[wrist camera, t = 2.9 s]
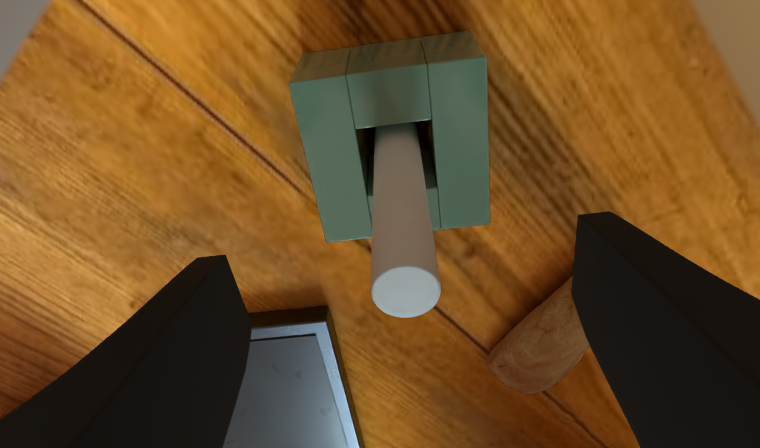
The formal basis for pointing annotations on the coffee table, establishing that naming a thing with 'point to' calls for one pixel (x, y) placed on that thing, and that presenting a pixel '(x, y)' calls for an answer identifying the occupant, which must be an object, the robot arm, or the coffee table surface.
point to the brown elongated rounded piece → (541, 345)
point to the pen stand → (394, 106)
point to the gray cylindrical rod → (401, 226)
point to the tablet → (294, 386)
